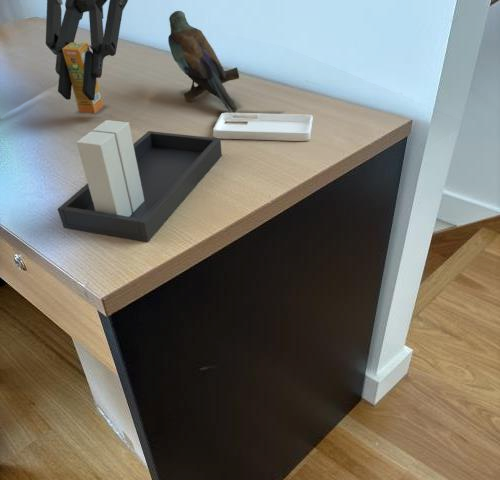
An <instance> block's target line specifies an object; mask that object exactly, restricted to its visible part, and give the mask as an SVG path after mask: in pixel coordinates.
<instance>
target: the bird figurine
mask: <svg viewBox="0 0 500 480" xmlns="http://www.w3.org/2000/svg"><path fill="white" fill-rule="evenodd" d="M168 20H169V27H170V34H169V35H168V36H167V37H168V39H167V41H168V47H169V49H170V52H171V55H172V58H173V60H174V61H175V63H176V64H177V65H178V67H179V68H180V70H181V71H182V72H183V73H184V74H185V75H186V76H187V77H188V78H189V79H191V81H192V83H191V86H190V89H189V90H188V91H187V92H184V93H183V97H184V99H185V101H186V102H189V101H190V100H193V99H195V98H197V97H198V96H201V95H203V94H204V92H206V91H207V92H208V93H210V94H211V95H213V96H215V97H217V98H218V99H219V100H220V101H221V103H222V104H223V105H224V107H225V108H226V109H227V110H228V112H229V113H237V111H238V110H239V109H238V107H237V105H236V104H235V102H234V100H233V99H232V98H231V96H230V94H229V93H228V92H227V89H226V88H225V86H224V85H223V84H225V83H228V82H230V81H235V80H239V79H240V73H239V68H238V67H237V66H236V67H234V68H231V69H228V70H225V68H224V67H223V65H222V63H221V62H220V59H219V58H218V56H217V54H216V52H215V50H214V48H213V47H212V45H211V44H210V43H209V41H208V39H207V38H206V36H205V35H204V33H203V32H202V30H201V29H198V28H196V27H194V26H192V25H190V24H189V22H188V20H187V18H186V14H185V12H183V11H182V10H176V11H174V12H172V13H171V14H170V15H169V18H168ZM195 84H196V86H195Z"/></svg>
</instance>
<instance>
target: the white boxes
mask: <svg viewBox="0 0 500 480" xmlns="http://www.w3.org/2000/svg"><path fill="white" fill-rule="evenodd" d="M133 144H134V141H133V135H132V130H131V126H130V122H129V121H119V120H111V119H110V120H109V119H106V120H104V121H103V122H102V123H100V124H99V125H98V126H96V127H95V128H94V129H92V131H91V130H90V131H89V132H88V133H86V134H85V135H84V136H82V137H81V138H80V139H78V140H77V141H76V147H77V150H78V153H79V157H80V160H81V164H82V168H83V171H84V175H85V178H86V182H87V183H88V186H89V189H90V193H91V197H92V200H93V204H94V207H95V211H97V212H103V213H109V214H116V215H122V216H128V217H130V216H131V214H132V212H134V211H135V210H136V209H137V208H138V207H139V206H140V205H141V204H142V203H143V202H144V196H143V191H142V186H141V181H140V176H139V171H138V166H137V161H136V156H135V151H134V146H133Z"/></svg>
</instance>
